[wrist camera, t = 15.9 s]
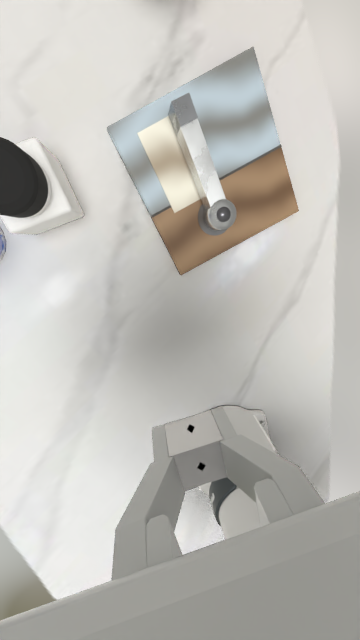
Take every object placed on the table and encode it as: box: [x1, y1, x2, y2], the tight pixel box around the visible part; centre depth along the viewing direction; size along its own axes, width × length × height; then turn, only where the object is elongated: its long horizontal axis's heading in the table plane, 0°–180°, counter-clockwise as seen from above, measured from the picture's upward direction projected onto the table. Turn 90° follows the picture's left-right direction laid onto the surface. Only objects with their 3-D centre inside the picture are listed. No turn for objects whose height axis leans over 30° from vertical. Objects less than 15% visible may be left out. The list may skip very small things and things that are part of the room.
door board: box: [107, 47, 299, 275], centre depth 33 cm, size 20×20×1 cm
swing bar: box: [168, 93, 236, 230], centre depth 30 cm, size 15×4×3 cm, turn 25°
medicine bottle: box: [0, 137, 84, 235], centre depth 25 cm, size 7×7×12 cm
